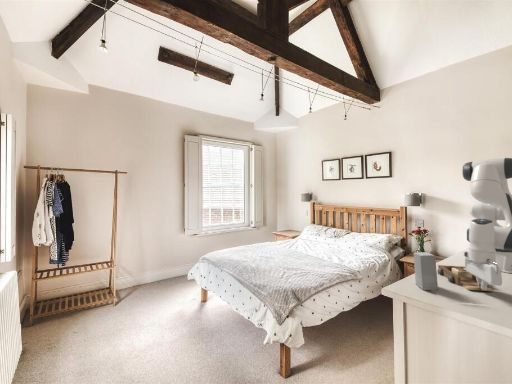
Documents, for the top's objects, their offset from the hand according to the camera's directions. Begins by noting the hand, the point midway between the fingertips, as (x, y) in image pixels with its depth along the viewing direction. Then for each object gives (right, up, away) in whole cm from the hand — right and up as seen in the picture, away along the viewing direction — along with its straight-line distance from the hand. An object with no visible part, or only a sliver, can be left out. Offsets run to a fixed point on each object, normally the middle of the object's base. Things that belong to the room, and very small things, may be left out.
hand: (482, 288), depth 112 cm
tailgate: (+2, -2, +7) cm, 7 cm away
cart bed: (+5, -2, +18) cm, 19 cm away
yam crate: (+5, -1, +17) cm, 18 cm away
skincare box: (-19, -3, +8) cm, 21 cm away
